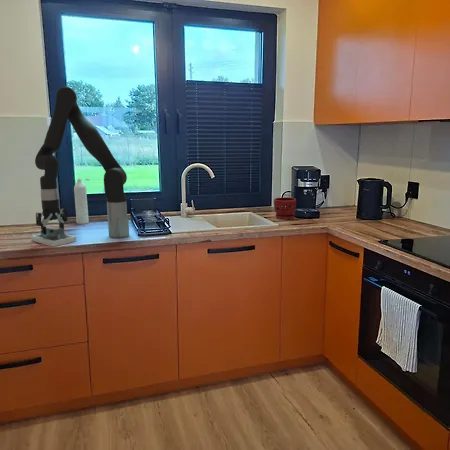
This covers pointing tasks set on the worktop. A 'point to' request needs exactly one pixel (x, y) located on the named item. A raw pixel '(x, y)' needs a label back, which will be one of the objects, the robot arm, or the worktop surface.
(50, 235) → the block
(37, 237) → the tray
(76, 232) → the worktop surface
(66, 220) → the robot arm
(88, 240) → the worktop surface
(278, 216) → the plant pot
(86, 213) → the water bottle
